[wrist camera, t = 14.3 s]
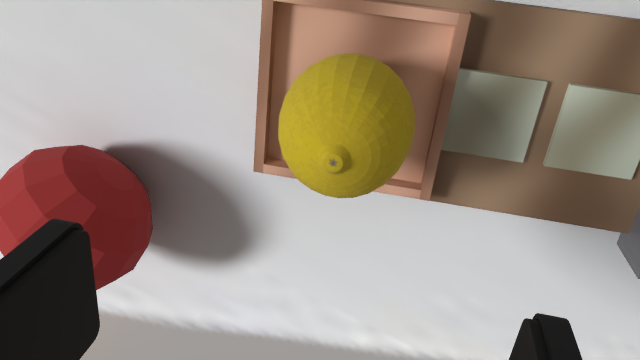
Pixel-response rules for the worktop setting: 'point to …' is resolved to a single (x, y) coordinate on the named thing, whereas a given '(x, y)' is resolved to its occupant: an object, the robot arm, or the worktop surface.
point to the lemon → (346, 125)
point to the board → (482, 100)
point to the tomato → (78, 205)
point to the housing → (632, 245)
